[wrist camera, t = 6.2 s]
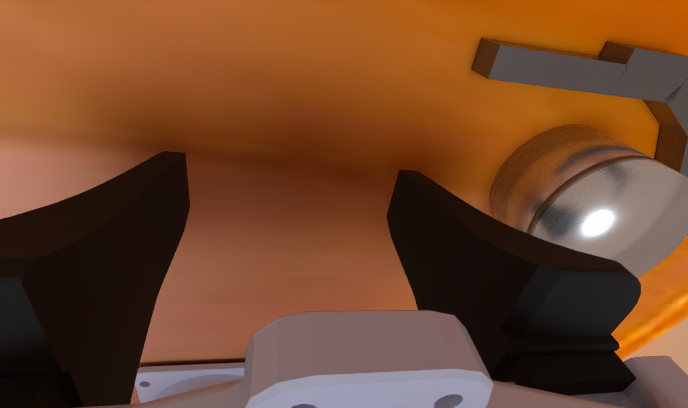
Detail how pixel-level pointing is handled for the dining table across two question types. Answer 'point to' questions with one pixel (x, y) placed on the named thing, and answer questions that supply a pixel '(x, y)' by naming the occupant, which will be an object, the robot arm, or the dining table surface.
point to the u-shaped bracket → (604, 82)
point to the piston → (593, 197)
